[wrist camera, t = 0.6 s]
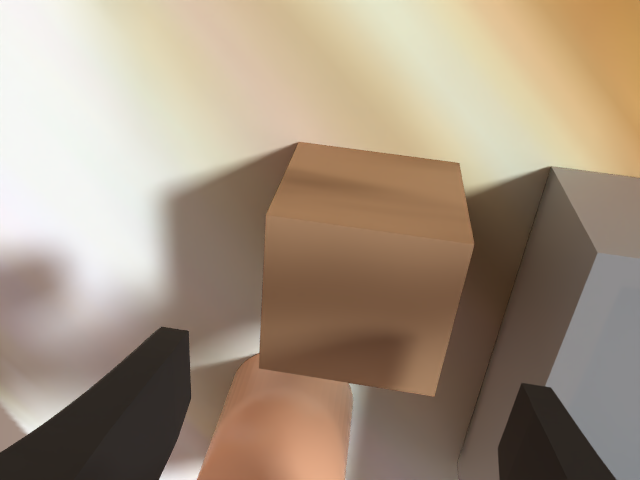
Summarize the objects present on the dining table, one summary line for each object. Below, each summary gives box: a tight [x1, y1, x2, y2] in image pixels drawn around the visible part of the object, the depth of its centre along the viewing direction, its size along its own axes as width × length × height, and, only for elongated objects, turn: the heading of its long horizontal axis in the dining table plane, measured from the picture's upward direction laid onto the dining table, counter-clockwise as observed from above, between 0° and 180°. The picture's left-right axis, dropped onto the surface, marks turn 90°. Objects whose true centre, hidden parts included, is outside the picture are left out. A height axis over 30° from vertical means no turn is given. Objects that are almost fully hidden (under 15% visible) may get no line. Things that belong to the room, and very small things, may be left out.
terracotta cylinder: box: [197, 353, 353, 480], centre depth 21 cm, size 5×5×7 cm
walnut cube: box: [259, 142, 474, 397], centre depth 17 cm, size 5×5×5 cm
